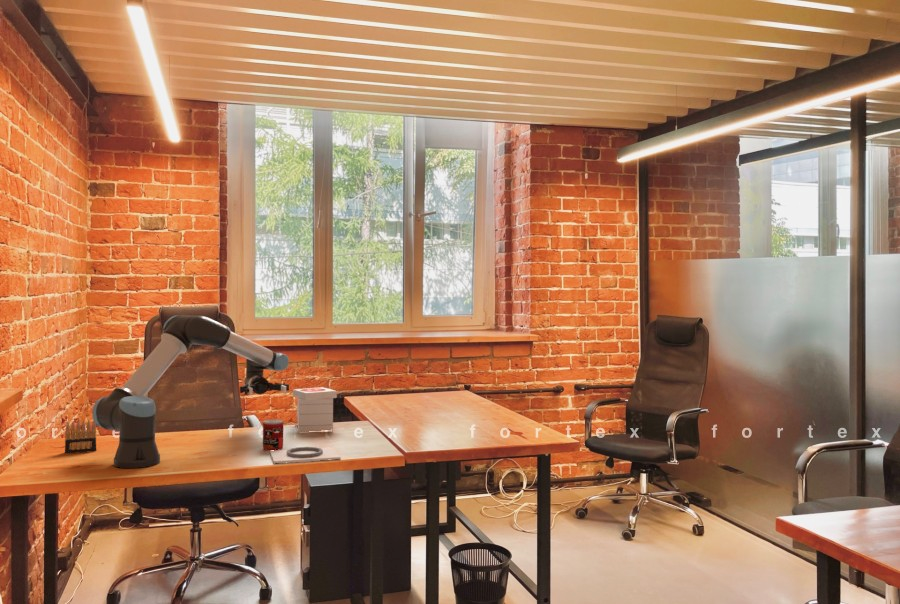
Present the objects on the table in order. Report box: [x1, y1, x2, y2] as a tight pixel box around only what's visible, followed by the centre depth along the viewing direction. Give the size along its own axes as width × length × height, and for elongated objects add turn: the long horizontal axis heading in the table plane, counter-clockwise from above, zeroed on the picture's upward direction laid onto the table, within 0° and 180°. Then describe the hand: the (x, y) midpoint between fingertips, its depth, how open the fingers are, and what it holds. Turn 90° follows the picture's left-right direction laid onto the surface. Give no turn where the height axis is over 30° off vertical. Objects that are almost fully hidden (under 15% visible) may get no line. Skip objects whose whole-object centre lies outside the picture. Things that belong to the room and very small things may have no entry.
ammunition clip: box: [64, 419, 97, 454], centre depth 262 cm, size 11×2×12 cm, turn 118°
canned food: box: [262, 418, 284, 451], centre depth 271 cm, size 8×8×11 cm
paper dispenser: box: [292, 387, 338, 433], centre depth 317 cm, size 19×30×18 cm, turn 15°
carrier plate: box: [269, 446, 342, 465], centre depth 258 cm, size 24×18×2 cm
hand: (268, 390), depth 280 cm, fingers open, 13 cm apart
